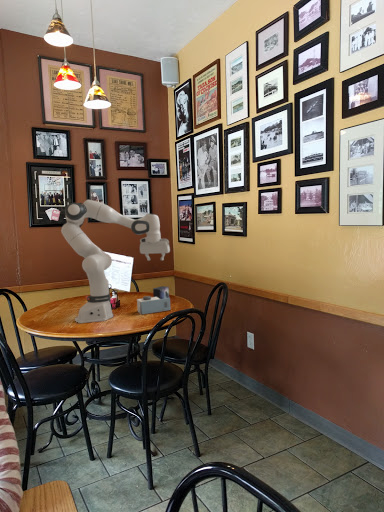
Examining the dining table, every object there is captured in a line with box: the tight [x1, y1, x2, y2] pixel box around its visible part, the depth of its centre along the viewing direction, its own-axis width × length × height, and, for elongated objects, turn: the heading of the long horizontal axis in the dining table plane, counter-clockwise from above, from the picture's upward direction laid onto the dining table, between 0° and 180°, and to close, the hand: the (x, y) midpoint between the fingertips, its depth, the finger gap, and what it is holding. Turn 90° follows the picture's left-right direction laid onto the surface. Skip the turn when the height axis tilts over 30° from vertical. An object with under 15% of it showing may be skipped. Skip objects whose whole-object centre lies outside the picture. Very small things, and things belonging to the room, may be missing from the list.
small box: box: [152, 285, 170, 299], centre depth 251 cm, size 11×6×10 cm, turn 146°
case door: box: [140, 297, 172, 315], centre depth 222 cm, size 20×2×8 cm, turn 114°
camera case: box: [136, 295, 162, 315], centre depth 226 cm, size 13×8×10 cm, turn 114°
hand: (155, 260), depth 229 cm, fingers open, 8 cm apart
